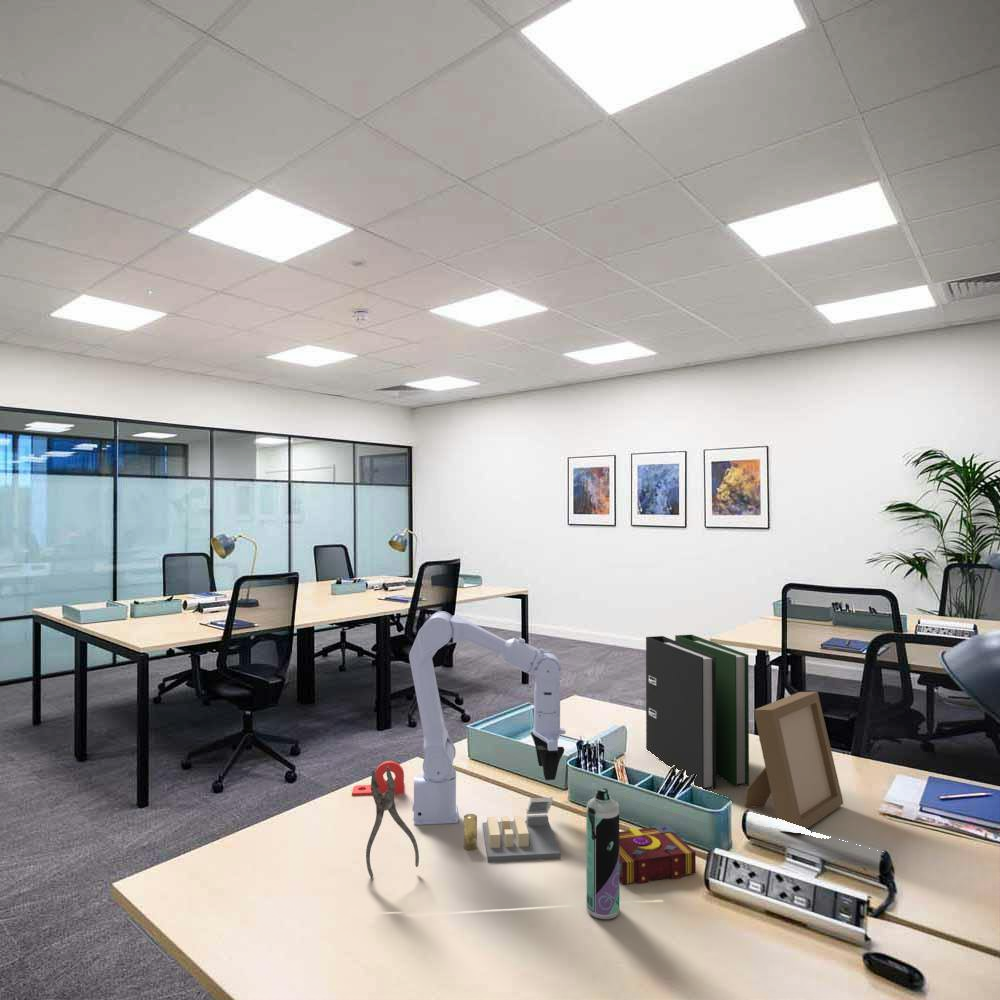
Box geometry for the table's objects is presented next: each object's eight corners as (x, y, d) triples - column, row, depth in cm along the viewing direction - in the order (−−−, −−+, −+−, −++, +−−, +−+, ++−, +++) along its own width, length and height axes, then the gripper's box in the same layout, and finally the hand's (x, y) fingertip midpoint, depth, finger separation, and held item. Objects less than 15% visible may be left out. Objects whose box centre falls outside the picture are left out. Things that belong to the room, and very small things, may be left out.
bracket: (404, 788, 162) (404, 755, 162) (403, 796, 157) (403, 762, 158) (354, 790, 161) (354, 756, 161) (351, 798, 156) (351, 764, 156)
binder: (751, 787, 162) (751, 654, 163) (697, 793, 159) (696, 658, 159) (692, 748, 189) (691, 634, 189) (644, 753, 185) (643, 637, 185)
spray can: (611, 923, 109) (611, 799, 109) (581, 912, 112) (581, 791, 112) (624, 906, 113) (624, 787, 114) (594, 896, 116) (594, 780, 117)
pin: (464, 850, 132) (464, 820, 132) (463, 844, 135) (463, 814, 135) (477, 850, 132) (477, 819, 132) (476, 843, 135) (476, 813, 135)
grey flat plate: (531, 802, 135) (530, 797, 136) (526, 814, 141) (526, 809, 142) (552, 801, 136) (552, 796, 136) (547, 814, 142) (546, 809, 143)
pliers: (417, 874, 124) (424, 765, 125) (418, 876, 123) (424, 767, 124) (364, 876, 122) (371, 766, 123) (364, 879, 122) (371, 768, 122)
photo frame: (843, 807, 151) (842, 696, 151) (799, 839, 137) (798, 716, 137) (779, 787, 162) (779, 683, 163) (732, 814, 148) (732, 700, 148)
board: (487, 861, 128) (487, 843, 128) (482, 827, 142) (482, 810, 142) (560, 858, 129) (560, 839, 129) (547, 824, 143) (547, 807, 143)
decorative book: (697, 876, 123) (697, 849, 123) (616, 889, 119) (616, 860, 119) (666, 846, 134) (666, 821, 134) (591, 857, 130) (591, 831, 130)
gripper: (572, 719, 140) (571, 785, 140) (558, 699, 154) (558, 759, 154) (538, 720, 139) (538, 786, 139) (528, 700, 153) (527, 760, 153)
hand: (546, 772), depth 146 cm, fingers open, 7 cm apart
